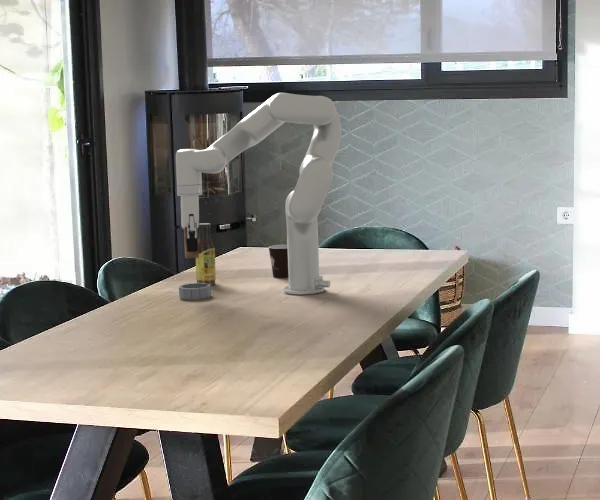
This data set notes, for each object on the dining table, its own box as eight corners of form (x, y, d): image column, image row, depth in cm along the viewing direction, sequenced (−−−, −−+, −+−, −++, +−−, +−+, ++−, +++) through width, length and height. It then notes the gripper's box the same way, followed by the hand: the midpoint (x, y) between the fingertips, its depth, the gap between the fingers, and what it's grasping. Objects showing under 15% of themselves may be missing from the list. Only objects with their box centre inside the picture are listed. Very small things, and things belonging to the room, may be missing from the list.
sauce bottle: (206, 287, 357) (203, 225, 354) (192, 285, 360) (189, 224, 357) (220, 283, 362) (217, 222, 359) (206, 282, 366) (203, 222, 363)
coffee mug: (295, 278, 367) (294, 248, 365) (269, 279, 367) (268, 249, 365) (296, 272, 378) (295, 243, 377) (270, 273, 378) (269, 243, 377)
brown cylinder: (198, 255, 342) (196, 223, 340) (198, 257, 338) (197, 225, 336) (185, 256, 341) (183, 223, 340) (185, 258, 337) (184, 225, 336)
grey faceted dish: (209, 292, 347) (209, 282, 346) (211, 298, 337) (211, 287, 337) (178, 294, 345) (178, 284, 345) (180, 300, 336) (179, 289, 335)
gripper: (176, 188, 344) (178, 247, 347) (178, 193, 328) (180, 255, 330) (200, 187, 345) (202, 245, 348) (203, 192, 329) (206, 253, 331)
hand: (192, 249), depth 339 cm, fingers closed on brown cylinder, 4 cm apart
